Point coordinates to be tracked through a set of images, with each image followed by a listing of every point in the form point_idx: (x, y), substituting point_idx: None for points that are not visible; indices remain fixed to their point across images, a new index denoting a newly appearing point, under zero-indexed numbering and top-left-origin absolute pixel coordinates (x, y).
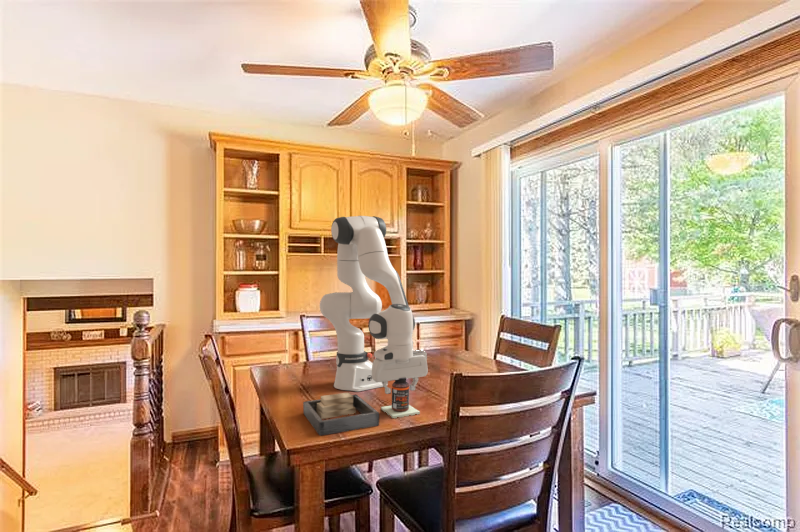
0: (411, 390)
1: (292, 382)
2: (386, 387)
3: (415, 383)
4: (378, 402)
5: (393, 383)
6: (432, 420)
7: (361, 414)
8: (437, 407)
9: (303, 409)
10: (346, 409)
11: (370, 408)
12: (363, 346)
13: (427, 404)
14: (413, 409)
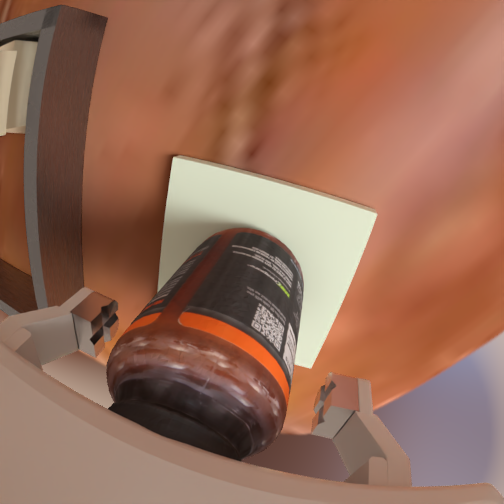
0: (319, 393)
1: None
2: (53, 350)
3: (346, 457)
4: (251, 23)
5: (110, 378)
6: (292, 421)
7: (7, 306)
8: (453, 351)
9: None
10: (9, 131)
11: (35, 285)
12: None
13: (469, 288)
14: (311, 330)
